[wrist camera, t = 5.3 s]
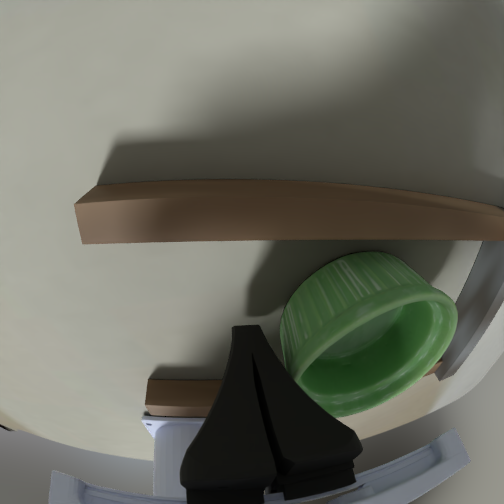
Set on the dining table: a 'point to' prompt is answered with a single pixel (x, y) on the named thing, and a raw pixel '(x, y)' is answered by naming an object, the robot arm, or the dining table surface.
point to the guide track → (297, 228)
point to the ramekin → (364, 331)
